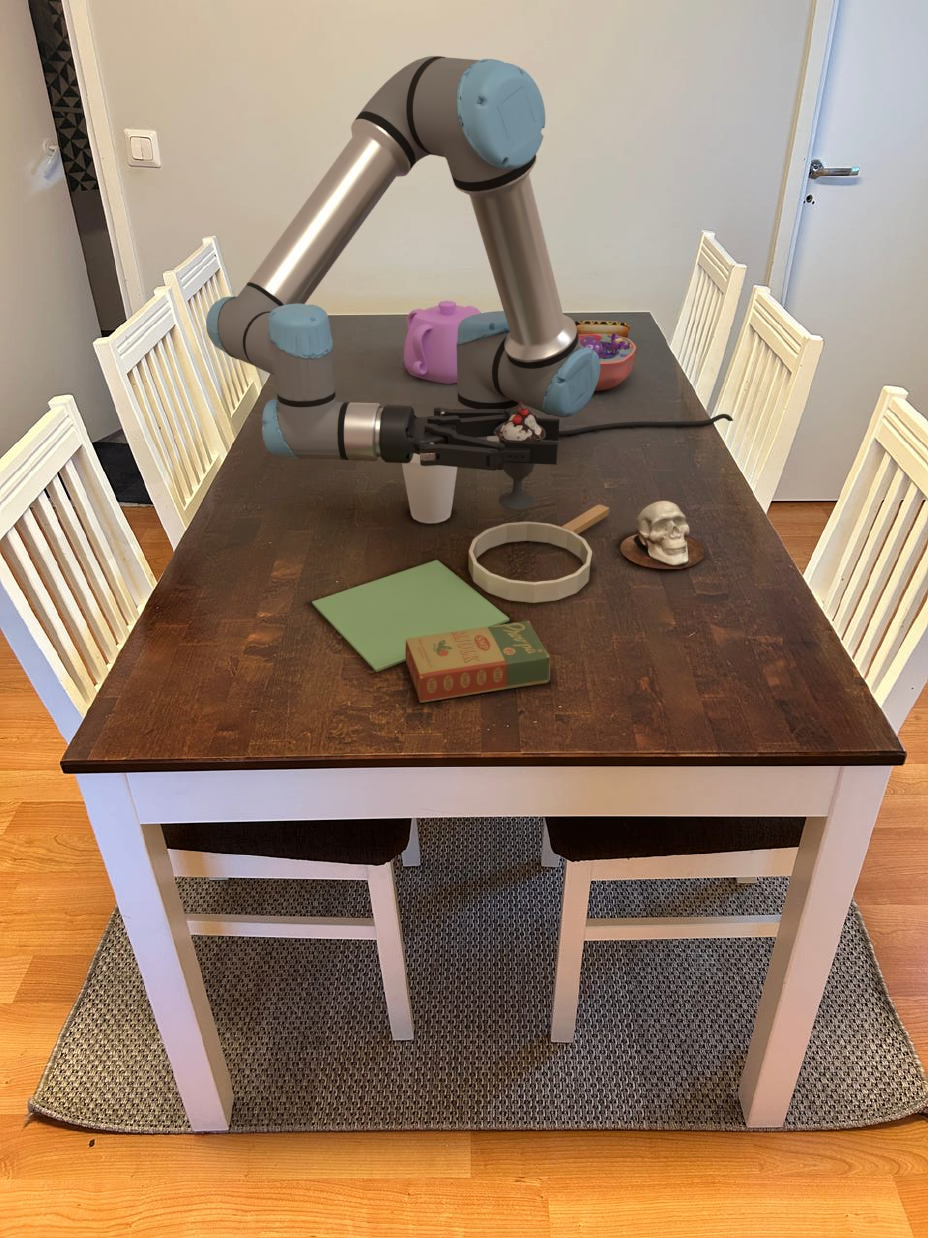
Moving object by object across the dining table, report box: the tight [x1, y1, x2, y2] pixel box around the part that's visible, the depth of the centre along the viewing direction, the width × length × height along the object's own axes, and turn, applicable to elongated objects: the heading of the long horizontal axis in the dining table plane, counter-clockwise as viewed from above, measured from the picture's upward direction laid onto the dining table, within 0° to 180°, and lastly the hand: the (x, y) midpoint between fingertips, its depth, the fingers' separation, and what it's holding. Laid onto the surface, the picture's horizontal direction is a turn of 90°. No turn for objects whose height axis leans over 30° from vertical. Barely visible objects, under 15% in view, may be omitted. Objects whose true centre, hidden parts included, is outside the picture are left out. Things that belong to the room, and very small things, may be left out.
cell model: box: [578, 334, 637, 392], centre depth 189 cm, size 17×20×11 cm
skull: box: [619, 500, 705, 570], centre depth 136 cm, size 12×10×10 cm
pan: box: [468, 503, 610, 604], centre depth 134 cm, size 26×17×3 cm, turn 123°
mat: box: [311, 559, 510, 673], centre depth 124 cm, size 20×18×1 cm
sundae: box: [494, 401, 546, 511], centre depth 121 cm, size 7×7×15 cm
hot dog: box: [574, 319, 631, 338], centre depth 214 cm, size 5×13×5 cm, turn 84°
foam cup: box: [401, 453, 458, 524], centre depth 143 cm, size 10×9×13 cm
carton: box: [405, 620, 551, 704], centre depth 112 cm, size 8×16×4 cm, turn 105°
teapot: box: [403, 300, 482, 385], centre depth 197 cm, size 19×21×14 cm
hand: (557, 441), depth 120 cm, fingers closed on sundae, 7 cm apart
